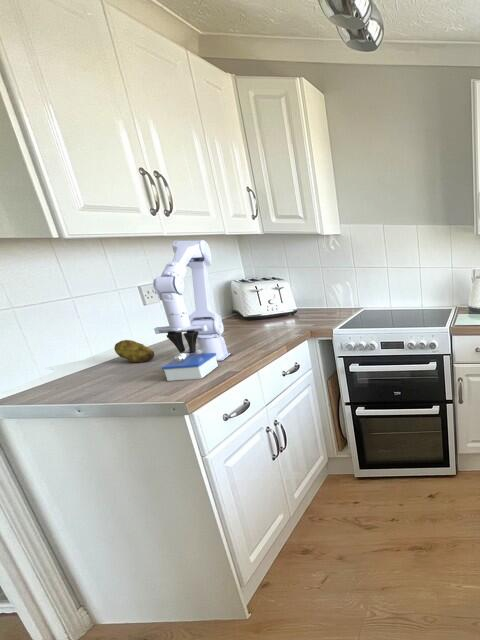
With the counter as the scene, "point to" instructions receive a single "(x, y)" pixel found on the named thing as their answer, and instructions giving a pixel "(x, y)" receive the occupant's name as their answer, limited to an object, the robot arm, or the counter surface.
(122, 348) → the potato
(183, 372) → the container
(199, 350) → the spoon
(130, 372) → the counter surface
